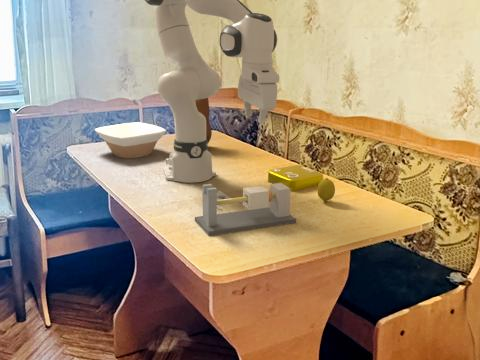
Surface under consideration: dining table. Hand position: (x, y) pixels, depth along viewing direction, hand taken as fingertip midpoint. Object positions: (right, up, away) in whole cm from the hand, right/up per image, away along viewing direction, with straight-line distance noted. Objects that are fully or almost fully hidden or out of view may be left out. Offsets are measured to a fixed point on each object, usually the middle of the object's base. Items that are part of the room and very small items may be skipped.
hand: (254, 119), depth 173 cm
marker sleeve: (0, -25, -2) cm, 25 cm away
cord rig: (-3, -30, -2) cm, 30 cm away
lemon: (+23, -25, +16) cm, 38 cm away
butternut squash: (-23, -5, +80) cm, 84 cm away
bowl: (-50, -7, +72) cm, 88 cm away
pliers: (-9, -25, +16) cm, 31 cm away
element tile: (+15, -19, +36) cm, 43 cm away
